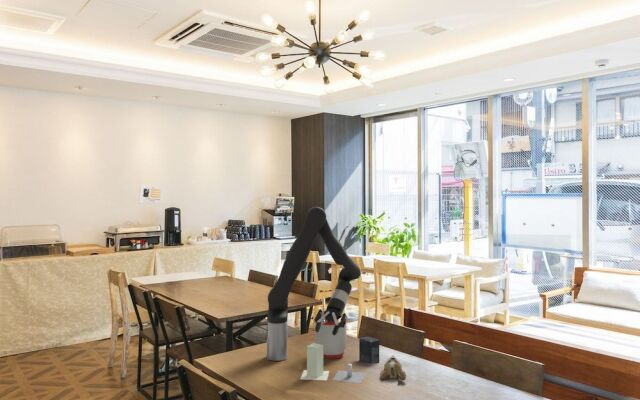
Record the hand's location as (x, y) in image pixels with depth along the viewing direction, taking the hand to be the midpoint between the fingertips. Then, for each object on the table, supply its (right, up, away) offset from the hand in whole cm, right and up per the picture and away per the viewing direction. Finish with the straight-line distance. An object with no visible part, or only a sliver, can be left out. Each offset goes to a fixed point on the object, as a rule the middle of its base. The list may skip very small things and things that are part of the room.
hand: (324, 332), depth 212 cm
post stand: (+10, -17, -8) cm, 22 cm away
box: (+21, -17, +14) cm, 30 cm away
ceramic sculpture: (+29, -17, -7) cm, 34 cm away
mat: (-4, -17, -7) cm, 19 cm away
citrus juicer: (+3, -17, +22) cm, 28 cm away
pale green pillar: (-4, -16, -7) cm, 18 cm away
